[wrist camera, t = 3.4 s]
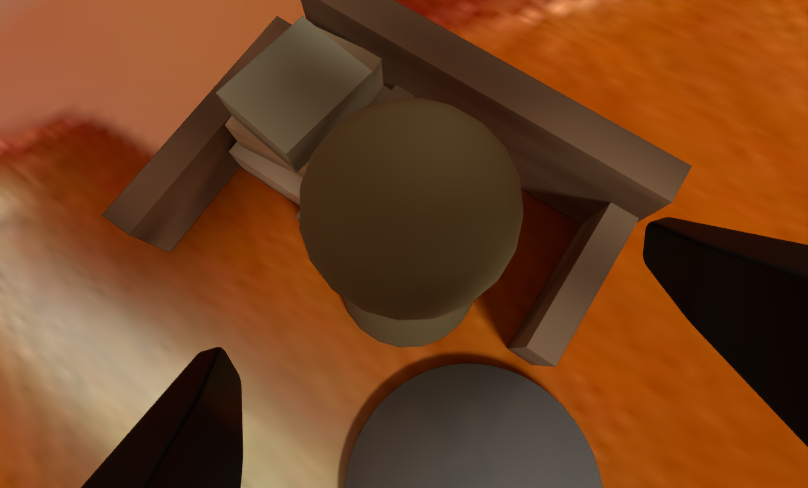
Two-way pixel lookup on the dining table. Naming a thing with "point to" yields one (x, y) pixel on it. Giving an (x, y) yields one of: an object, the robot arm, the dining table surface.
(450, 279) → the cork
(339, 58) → the rack
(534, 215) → the dining table surface
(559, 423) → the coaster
